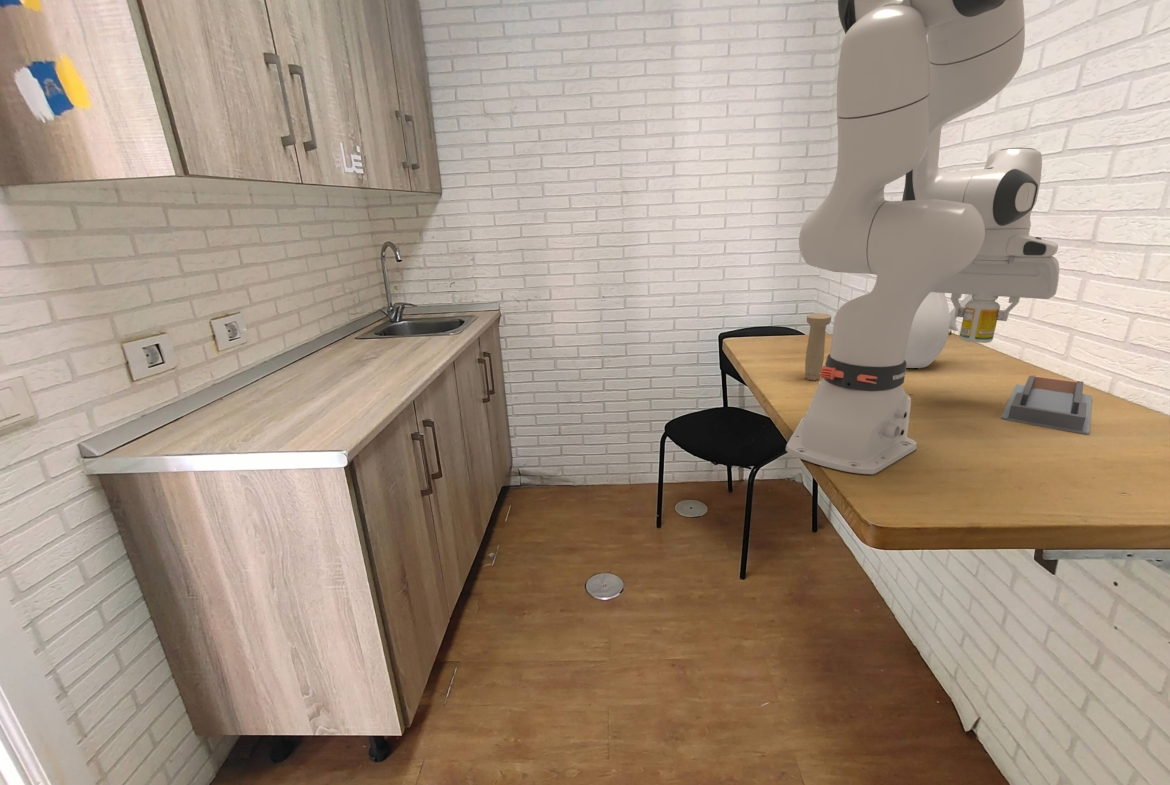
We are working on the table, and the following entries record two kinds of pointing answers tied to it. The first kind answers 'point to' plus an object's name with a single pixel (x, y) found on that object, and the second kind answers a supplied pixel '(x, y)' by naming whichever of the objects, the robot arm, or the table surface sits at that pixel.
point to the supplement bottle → (980, 318)
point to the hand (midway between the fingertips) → (980, 318)
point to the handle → (816, 345)
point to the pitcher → (930, 330)
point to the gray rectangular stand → (1050, 404)
